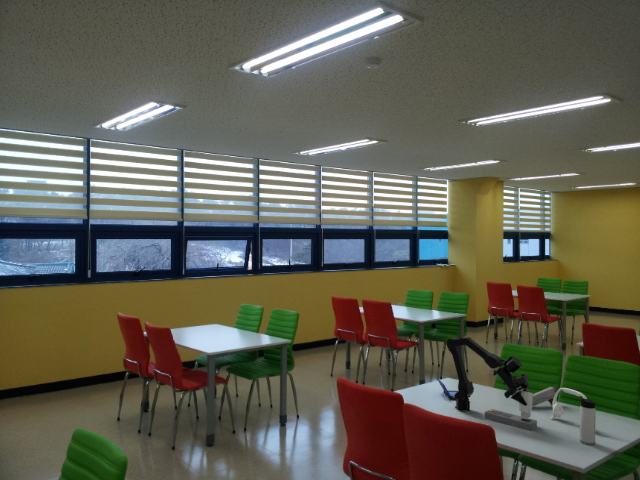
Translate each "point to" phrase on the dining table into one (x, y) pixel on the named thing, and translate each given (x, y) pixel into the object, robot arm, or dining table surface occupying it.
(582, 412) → the travel mug
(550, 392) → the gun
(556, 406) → the headset
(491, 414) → the power strip
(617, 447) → the dining table surface
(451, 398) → the handheld game console
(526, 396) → the plain gray block
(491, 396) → the dining table surface
